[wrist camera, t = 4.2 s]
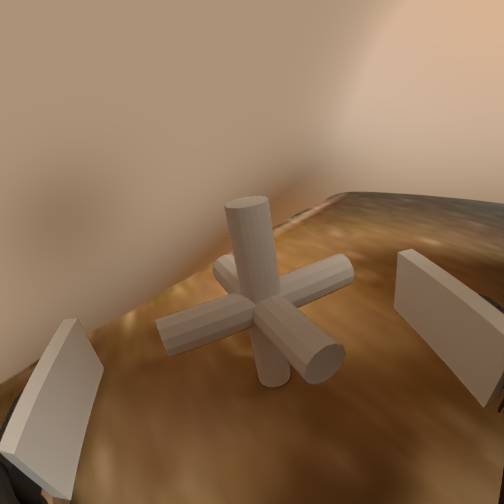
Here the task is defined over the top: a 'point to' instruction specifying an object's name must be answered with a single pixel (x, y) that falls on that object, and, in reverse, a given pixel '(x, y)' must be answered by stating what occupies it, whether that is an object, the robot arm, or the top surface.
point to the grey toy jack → (264, 303)
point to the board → (53, 498)
